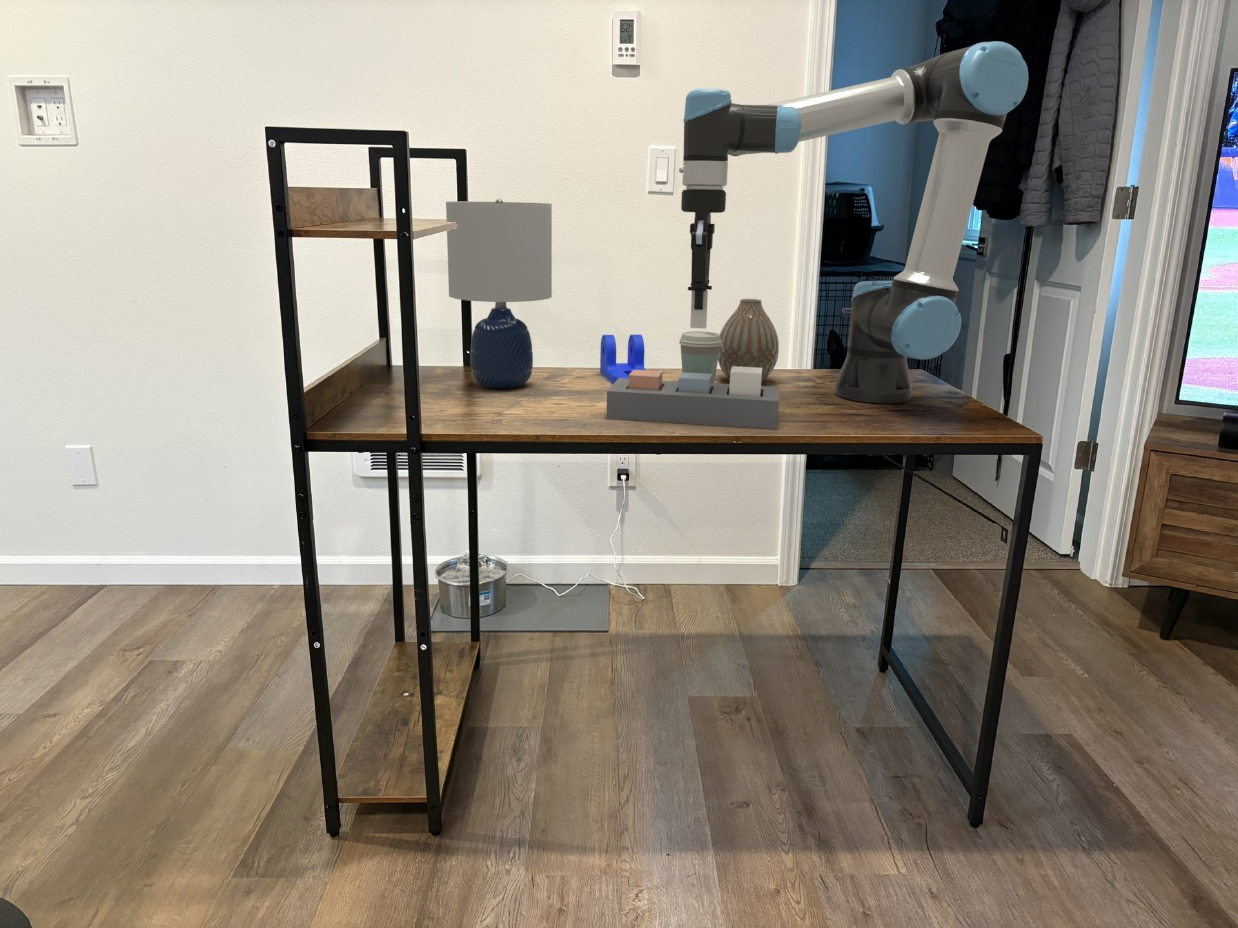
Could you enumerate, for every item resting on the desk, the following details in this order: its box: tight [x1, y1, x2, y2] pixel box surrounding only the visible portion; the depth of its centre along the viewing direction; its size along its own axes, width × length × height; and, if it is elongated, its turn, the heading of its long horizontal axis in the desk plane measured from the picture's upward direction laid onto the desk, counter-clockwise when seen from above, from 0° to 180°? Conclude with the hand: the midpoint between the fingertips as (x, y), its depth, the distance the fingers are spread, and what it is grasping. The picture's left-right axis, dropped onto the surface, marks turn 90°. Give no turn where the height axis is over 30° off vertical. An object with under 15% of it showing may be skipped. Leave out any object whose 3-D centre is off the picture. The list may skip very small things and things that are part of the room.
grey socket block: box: [606, 378, 780, 430], centre depth 164 cm, size 30×12×5 cm, turn 80°
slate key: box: [678, 371, 712, 394], centre depth 163 cm, size 5×5×4 cm
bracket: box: [599, 334, 646, 385], centre depth 194 cm, size 18×8×9 cm, turn 12°
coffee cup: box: [678, 330, 722, 383], centre depth 182 cm, size 9×8×12 cm
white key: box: [729, 366, 762, 397], centre depth 161 cm, size 5×5×4 cm
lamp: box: [445, 198, 553, 390], centre depth 181 cm, size 20×20×37 cm
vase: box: [718, 298, 780, 383], centre depth 194 cm, size 13×13×18 cm
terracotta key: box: [628, 369, 663, 391], centre depth 165 cm, size 5×5×4 cm
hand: (698, 327), depth 160 cm, fingers closed
